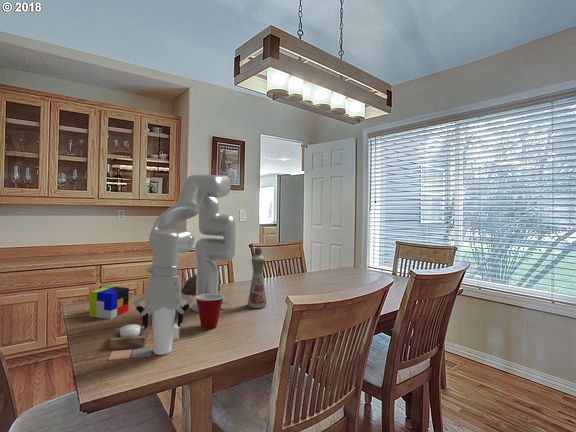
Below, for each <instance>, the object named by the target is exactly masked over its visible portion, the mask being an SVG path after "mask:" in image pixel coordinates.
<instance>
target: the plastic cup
mask: <svg viewBox="0 0 576 432" xmlns="http://www.w3.org/2000/svg"><path fill="white" fill-rule="evenodd" d="M224 298H225V295H223V294H202V295H198V296H195V301H196V300H197V304H198V310H199V312H198V314H199V315H198V316H199V321H200V327H201V329H202V330H213V329H215V328H217V326H218V321H219V317H220V313H221V308H222V305H223V304H222V301H223V299H224Z"/></svg>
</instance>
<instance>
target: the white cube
mask: <svg viewBox="0 0 576 432" xmlns="http://www.w3.org/2000/svg"><path fill="white" fill-rule="evenodd" d="M179 339H180V327H178V323H174V331H173V339H172V341H173V340H179Z"/></svg>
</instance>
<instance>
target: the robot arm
mask: <svg viewBox="0 0 576 432" xmlns="http://www.w3.org/2000/svg"><path fill="white" fill-rule="evenodd" d="M231 182H232V181H231V179H230V177H229V176H227V175H223V174H222V175H218V174H192V175H189V176H187V178H186V179H185V180H184V183H183V186H182V188H181V191H180V193H179V195H178V198H177V200H176V203H175V204H174V205H172V206H170V207H169V208H167V209H166V210H164V212H161V214H160V215H158V217H157V218H156V220H155V221H154V224H153V226H152V228H151V229H150V233H149V238H148V244H149V248H150V249H151V250H152V258H151V259H152V260H151V261H152V262H151V267H146V273H148V274H149V273H150V275H149V276H148V279H147V284H146V290H145V294H143V295H141V296H140V297H137V298H135V299H134V300H132V304H133V306H134V307H135V308H136V311H137V312H138V313H139V314H140V315H141V326H143V327H144V329H146V328H147V326H148V327H149V311H152V310H159V309H160V308H167V309H175V310H177V311H178V312H177V313H178V314H177V325H178V327H179V328H180V327H181V324H183V321H184V314H185V312H186V311H187V310H188V309H189V308H190V306H191V304H192V302H193V297H192V296H189V295H188V294H185V293H183V292H182V283H181V276H180V274H178V273H179V272H178V271H179V254H181V253H182V254H185V253H189V252H190V251H192V249H193V248H194V252H195V257H196V259H195V260H196V274H197V277H196V296H198V295H202V294H218V293H219V291H218V283H219V267H218V265H217V263H216V262H215V261H232V260H234V258H235V255H236V235H237V234H236V232H237V231H236V227H237V226H236V220H235V218H234V216H232V215H230V214H223V213H222V214H220V212H219V205H220V204H219V201H218V199H217V198H223V197H226V196H227V195H228V194H229V193H230V192H231V188H232V184H231ZM197 215H198V231H199V232H200V234H202V235H204V236H215V237H223V238H213V237H203V238H200V239H198V240H197V241H196V239H195V235H194V234H193V233H192V232H191V231H189V230H183V229H181V230H180V229H169V228H171V226H172V227H173V225H175V224H177V223H180V222H183V221H186V220H189V219H191V218H194V217H196V216H197ZM195 241H196V242H195ZM196 296H195V297H196ZM182 300H184V301H186V302H185V304H184V305H183V306H182ZM143 301H144V305H145V308H144V307H143V306H142V305H141V304H140V303H141V302H143ZM221 305H229V299H224V298H223V301H222V304H221ZM191 310H192V311H193V312H196V313H199V310H198V304H197V300H196V299H195V303H194V304H192V306H191Z"/></svg>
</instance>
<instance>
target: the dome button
mask: <svg viewBox="0 0 576 432" xmlns="http://www.w3.org/2000/svg"><path fill="white" fill-rule="evenodd" d="M140 327H141V325H139V324H136V323H135V324H134V323H133V324H131V323H130V324H125V325H123V326H121V327H119V328H120V337H134V336H140Z"/></svg>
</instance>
